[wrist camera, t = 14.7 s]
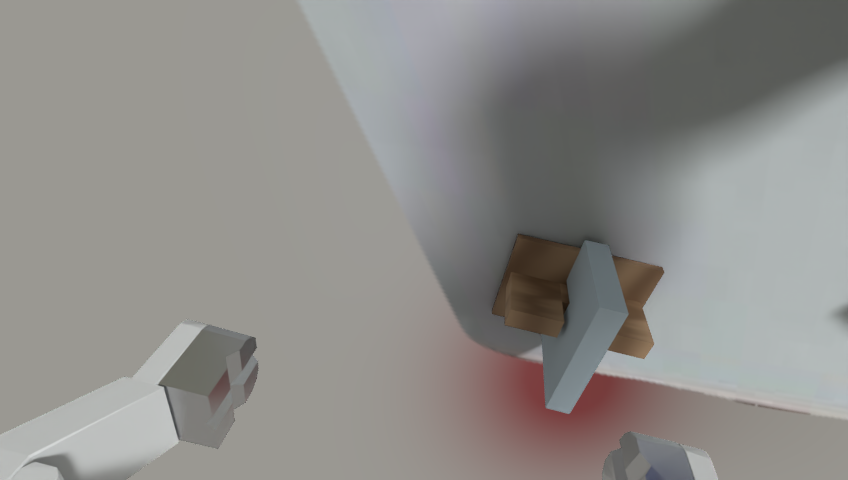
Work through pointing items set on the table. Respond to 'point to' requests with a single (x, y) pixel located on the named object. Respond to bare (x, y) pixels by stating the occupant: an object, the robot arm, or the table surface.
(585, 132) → the table surface
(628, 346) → the jig
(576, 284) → the slotted plate
